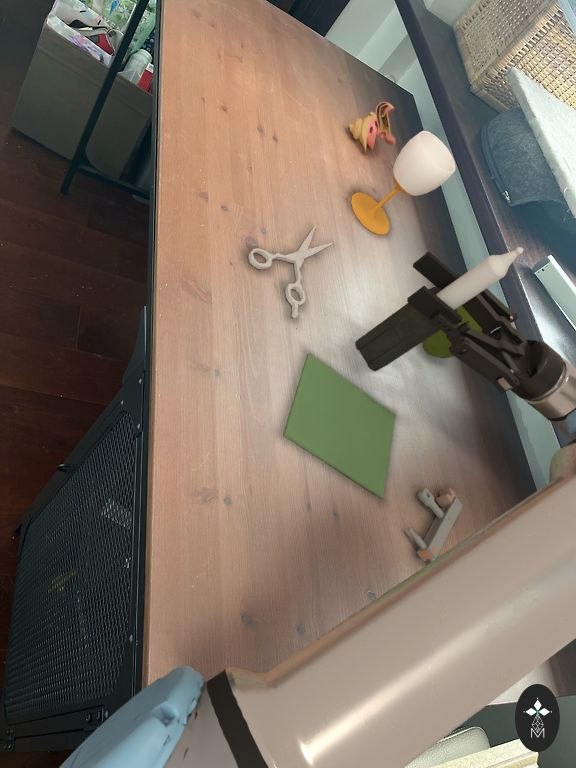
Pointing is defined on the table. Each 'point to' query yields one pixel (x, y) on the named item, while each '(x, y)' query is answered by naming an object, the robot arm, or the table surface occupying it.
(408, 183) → the cup
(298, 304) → the scissors
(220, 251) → the table surface
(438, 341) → the green rounded fruit
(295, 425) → the cloth
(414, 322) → the candle
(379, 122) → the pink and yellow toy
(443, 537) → the clamp
